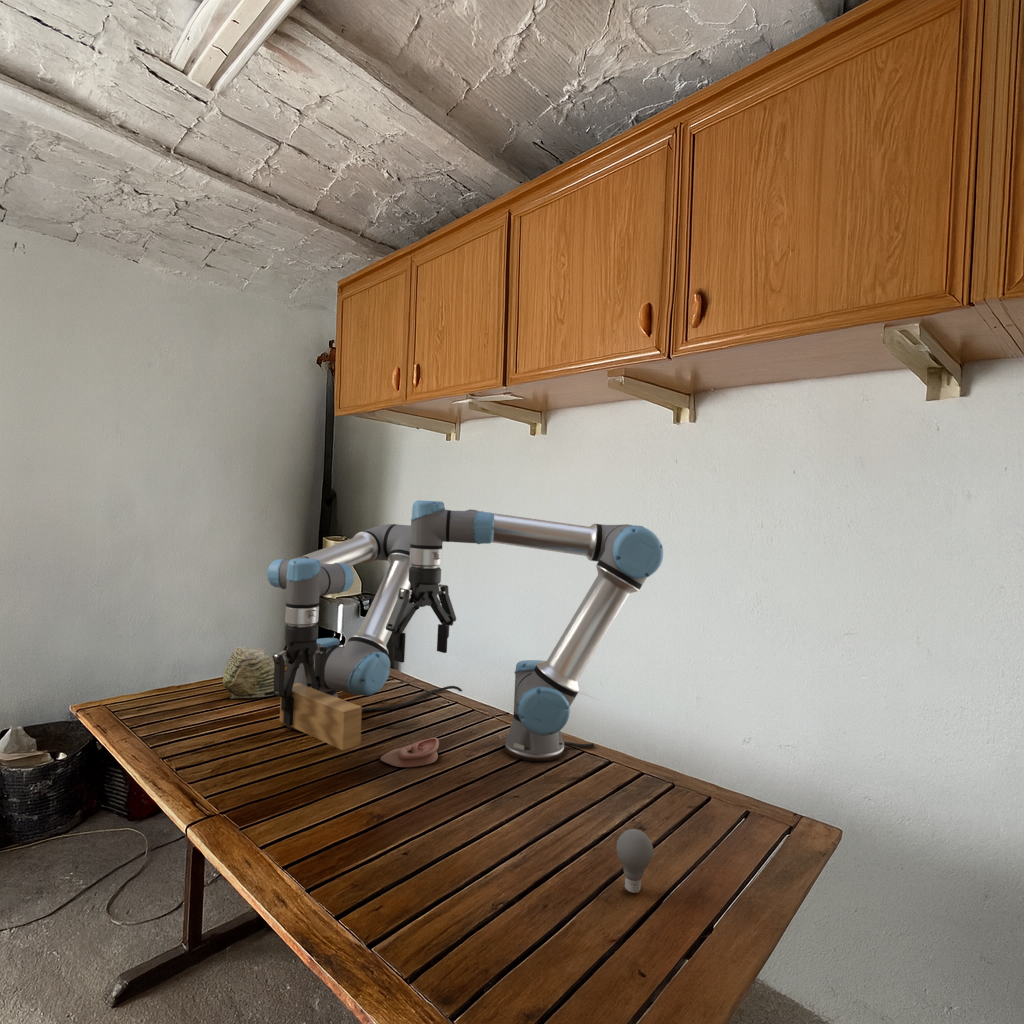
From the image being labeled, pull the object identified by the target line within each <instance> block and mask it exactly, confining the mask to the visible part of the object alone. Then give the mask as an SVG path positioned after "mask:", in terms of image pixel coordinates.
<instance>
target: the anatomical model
mask: <svg viewBox="0 0 1024 1024" xmlns="http://www.w3.org/2000/svg"><path fill="white" fill-rule="evenodd" d="M439 747H440V741H439V739H438V737H430V738H426V739H422V740H419V741H416V742H414V743H411V744H409V745H406V746H403V747H398V748H395V749H392V750H389V751H388V752H386V753H385V754H383V755H382V756H381V757H380V759H379V760H380V761H381V762H383V763H384V764H387V765H390V766H392V767H397V768H413V767H420V766H425V765H431V764H432V763H435V762H436V761H437V760H438V758H439V754H438V752H437V751H438V749H439Z"/></svg>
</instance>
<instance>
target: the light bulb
mask: <svg viewBox="0 0 1024 1024" xmlns="http://www.w3.org/2000/svg"><path fill="white" fill-rule="evenodd" d="M615 849H616V854H617V857H618V859H619V861H620V863H621V865H622V867H623V873H624V874H623V875H624V876H625V878H624V888H625V890H627V891H628V892H630V893H634V894H635V893H639V892H640V891H641V889H642V887H641V886H642V879H643V877H644V875H645V871H646V868H647V867H648V866H649V864H650V863H651V861H652V859H653V855H654V847H653V843H652V841H651V838H649V836H648V835H647V834H646V833H645V832H643V831H642V830H641V829H636V828H629V829H627V830H625V831H623V832H622V833H621V834H620V835H619V837H618V839H617V841H616V847H615Z"/></svg>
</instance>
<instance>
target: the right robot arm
mask: <svg viewBox="0 0 1024 1024" xmlns="http://www.w3.org/2000/svg"><path fill="white" fill-rule="evenodd" d="M410 525H411V540H410V559H409V564H410V565H412V566H411V567H410V568H409V582H410V589H403V588H400V589H399V592H398V599H397V601H396V604H395V606H394V608H393V611H392V613H391V616H390V618H389V620H388V623H387V625H386V630H389V631H391V632H392V647H393V648H394V649H393V661H395V662H398V663H402V664H403V663H405V655H406V653H405V652H406V634H407V633H406V632H404V631H405V630H406V628H407V626H408V624H409V623H410V621H411V620H412V618H413V617H414V615H415V613H416V611H418V610H420V608H424V607H426V606H427V607H430V608H431V610H432V612H433V613H434V614H435V616H436V617H437V619H438V621H439V624H437V636H436V639H437V640H436V652H438V653H442V654H447V652H448V638H449V637H450V627H451V626H454V622H455V623H456V621H457V616H456V613H455V610H454V606H453V604H452V600H451V597H450V595H449V593H450V592H449V586H448V585H447V584H441V582H442V568H441V567H440V566H442V562H443V561H442V560H443V544H444V543H461V544H476V545H482V544H483V545H485V544H487V545H489V544H501V545H505V546H506V545H507V546H514V547H520V548H528V549H533V550H534V549H535V550H543V551H549V552H556V553H563V554H570V555H576V556H583V557H586V558H587V560H588V561H590V562H596V565H595V566H596V571H597V576H596V577H595V579H594V581H593V583H592V584H591V586H590V588H589V589H588V591H587V592H586V594H585V596H584V598H583V599H582V601H581V603H580V604H579V606H578V608H577V609H576V611H575V613H574V615H573V616H572V618H571V620H570V621H569V623H568V624H567V626H566V627H565V629H564V631H563V633H562V634H561V636H560V638H559V640H558V641H557V643H556V645H555V646H554V647H553V649H552V651H551V653H550V654H549V656H548V658H547V659H546V660H537V659H527V660H526V659H525V660H520V661H518V662H516V664H515V670H514V694H513V695H514V696H513V697H514V698H513V718H512V721H511V724H510V727H509V729H508V731H507V732H508V733H507V735H506V737H505V741H504V742H505V743H504V750H505V752H506V753H507V754H508V755H509V756H511V757H513V758H516V759H518V760H521V761H527V762H535V763H536V762H540V763H541V762H550V761H554V760H558V759H559V758H561V757H563V755H564V753H565V746H566V747H567V746H568V747H575V748H586V749H587V748H595V743H578V742H570V741H564V738H563V735H562V734H563V733H562V731H561V730H562V729H563V728H564V727H565V726H566V725H567V723H568V721H569V718H570V713H571V705H572V704H573V703H574V701H575V699H576V697H577V696H578V694H579V692H580V686H579V679H580V678H581V676H582V674H583V673H584V671H585V669H586V667H587V666H588V664H589V663H590V661H591V659H592V658H593V656H594V654H595V653H596V651H597V650H598V648H599V646H600V644H601V643H602V641H603V639H604V638H605V636H606V634H607V632H608V630H609V629H610V628H611V625H612V624H613V623H614V621H615V619H616V617H617V616H618V614H619V612H620V611H621V609H622V607H623V605H624V604H625V603H626V600H627V599H628V597H629V596H630V594H632V593H636V592H640V590H641V588H642V586H643V585H644V583H645V582H646V580H647V578H649V577H651V576H652V575H654V574H655V573H657V571H658V570H659V569H660V567H661V565H662V563H663V560H664V548H663V544H662V542H661V540H660V538H659V537H658V536H657V534H656V533H654V531H652V530H650V529H649V528H646V527H645V526H644V525H643V526H642V525H637V524H635V525H634V524H626V523H625V524H602V523H601V524H600V523H593V524H591V525H590V526H586V525H580V524H572V523H566V522H559V521H551V520H545V519H537V518H530V517H523V516H516V515H509V514H501V513H496V512H495V513H494V512H490V511H482V510H480V511H479V510H477V509H467V510H451V509H446V507H445V502H444V501H442V500H441V501H439V500H421V499H420V500H419V499H418V500H416V501H414V502H413V503H412V508H411V518H410ZM392 625H393V626H392Z"/></svg>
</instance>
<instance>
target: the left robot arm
mask: <svg viewBox="0 0 1024 1024" xmlns="http://www.w3.org/2000/svg"><path fill="white" fill-rule="evenodd" d="M410 540H411V524H409V525H407V524H398V523H397V524H396V523H388V524H381V525H378V526H375V527H371V528H369V529H365V530H362V531H359V532H357V533H356V534H355V535H354V536H353V537H352V538H349V539H347V540H344V541H341V542H338V543H335V544H332V545H330V546H327V547H324V548H322V549H321V548H320V549H318V550H316V551H312V552H309V553H307V554H305V555H302V556H298V557H295V558H292V559H287V558H283V559H281V558H280V559H279V558H278V559H275V560H273V561H272V562H271V563H270V564H269V566H268V568H267V572H266V576H267V581H268V583H269V584H270V586H272V587H274V588H277V589H278V588H279V589H282V590H286V595H285V596H286V600H285V615H284V616H285V617H284V622H285V624H286V625H285V626H284V641H285V642H284V643H285V644H284V647H283V650H281V651H280V652H278V653H277V652H274V653H272V660H273V661H274V663H275V666H274V695H273V696H276V697H279V698H281V709H282V711H284V720H283V723H282V724H284V723H285V724H284V725H285V726H286V728H287V729H289V730H291V731H294V732H295V731H296V732H301V733H303V732H302V731H299V730H297V729H295V728H293V727H291V725H293V701H294V697H291V692H292V688H293V684H295V683H300V684H303V685H305V686H308V687H311V688H313V689H316V690H318V691H321V692H324V693H326V694H329V695H332V696H334V697H337V698H339V695H338V692H343V693H347V694H352V695H353V696H367V697H369V696H372V695H373V696H374V695H375V694H376V693H378V692H379V691H380V690H382V689H383V687H384V686H385V684H386V683H387V681H388V678H389V676H390V672H391V670H390V668H391V661H390V658H389V649H388V647H387V645H388V642H389V640H390V638H391V635H392V634H393V632H391V631H389V630H386V625H387V623H388V620H389V618H390V616H391V613H392V611H393V608H394V606H395V604H396V601H397V599H398V592H399V589H400V588H403V589H410V582H409V568H410V567H411V566H412V565H410V564H409V559H410ZM373 561H386V562H388V564H389V567H388V568H387V570H386V573H385V574H384V576H383V579H382V581H381V583H380V585H379V588H378V589H377V592H376V594H375V596H374V598H373V600H372V602H371V604H370V606H369V607H368V611H367V613H366V615H365V617H364V619H363V621H362V623H361V626H360V628H359V629H358V632H357V633H356V634H354V635H351V636H349V638H348V640H347V642H346V644H345V645H344V646H341V645H340V644H341V643H340V640H339V638H336V637H322V638H319V625H318V622H319V616H320V615H319V612H320V597H323V596H329V595H336V594H339V595H340V594H341V593H344V592H346V591H349V590H350V589H351V588H352V586H353V585H354V581H355V573H354V571H353V569H352V566H355V565H357V564H359V563H360V564H361V563H365V564H366V563H371V562H373ZM392 626H393V625H392ZM286 659H287V660H286ZM450 689H452V690H457V692H463V689H462V688H460V687H459V686H456V685H447V686H443V687H440V688H436V689H432V690H428V691H427V692H424V693H423V694H420V695H418V696H417V697H415V698H413V699H411V700H409V701H406V702H402V703H398V704H397V703H396V704H392V705H385V706H377V707H366V708H365V707H364V708H362V713H363V712H364V713H365V712H366V713H367V712H375V711H376V712H377V711H384V710H390V709H396V708H397V709H398V708H402V707H405V706H408V705H411V704H413V703H416V702H417V701H419V700H421V699H423V698H426V697H427V696H429V695H431V694H434V693H439V692H442V691H447V690H450ZM286 724H287V725H286Z"/></svg>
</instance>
